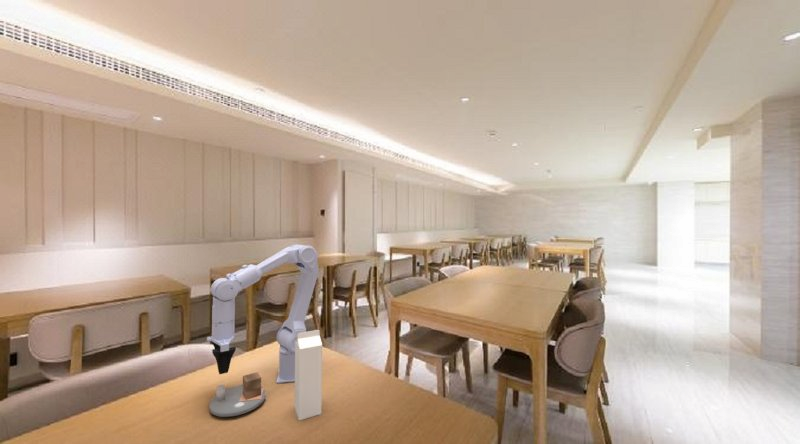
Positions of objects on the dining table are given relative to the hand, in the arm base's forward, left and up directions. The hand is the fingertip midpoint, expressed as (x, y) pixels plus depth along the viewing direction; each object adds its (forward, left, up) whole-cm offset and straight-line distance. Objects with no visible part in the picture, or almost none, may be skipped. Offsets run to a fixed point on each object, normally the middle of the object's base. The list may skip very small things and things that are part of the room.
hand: (222, 367), depth 90 cm
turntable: (-5, +3, -10) cm, 11 cm away
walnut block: (-8, +3, -7) cm, 11 cm away
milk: (-24, +11, -10) cm, 28 cm away
